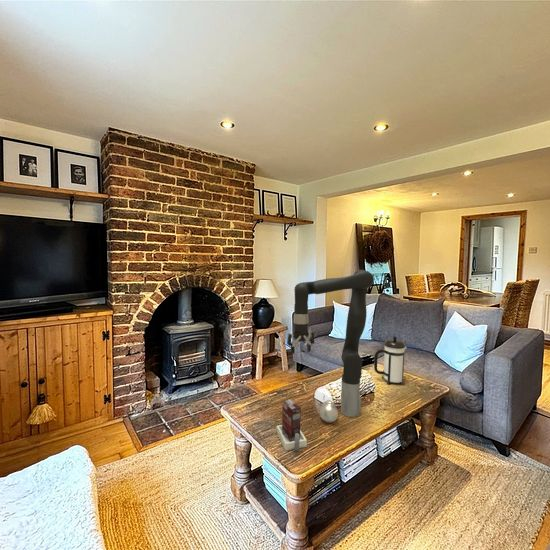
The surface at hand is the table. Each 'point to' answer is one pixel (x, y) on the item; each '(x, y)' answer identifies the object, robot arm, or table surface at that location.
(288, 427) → the supplement box
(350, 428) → the table surface
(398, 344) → the coffee press
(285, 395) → the table surface
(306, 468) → the table surface
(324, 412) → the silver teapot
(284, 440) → the holder caddy
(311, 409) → the table surface
